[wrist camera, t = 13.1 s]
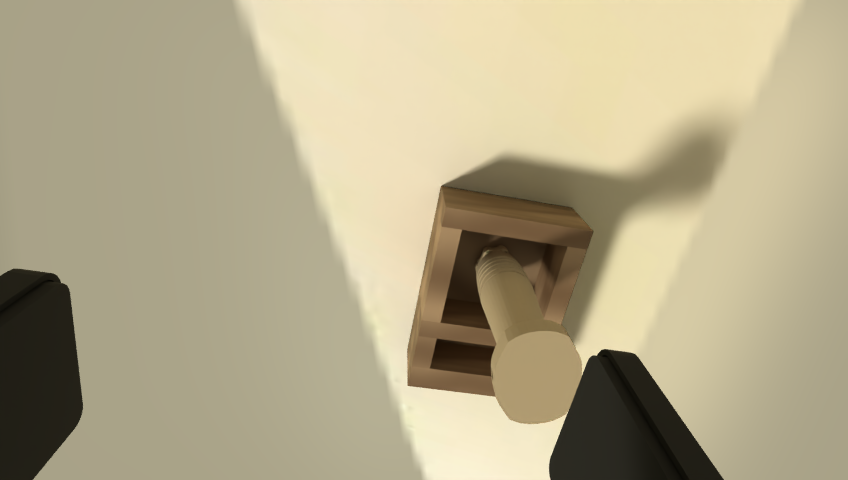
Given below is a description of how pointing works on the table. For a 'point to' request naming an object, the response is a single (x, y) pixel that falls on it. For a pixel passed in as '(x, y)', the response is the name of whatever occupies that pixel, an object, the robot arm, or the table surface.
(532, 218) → the socket block
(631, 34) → the table surface
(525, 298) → the handle
